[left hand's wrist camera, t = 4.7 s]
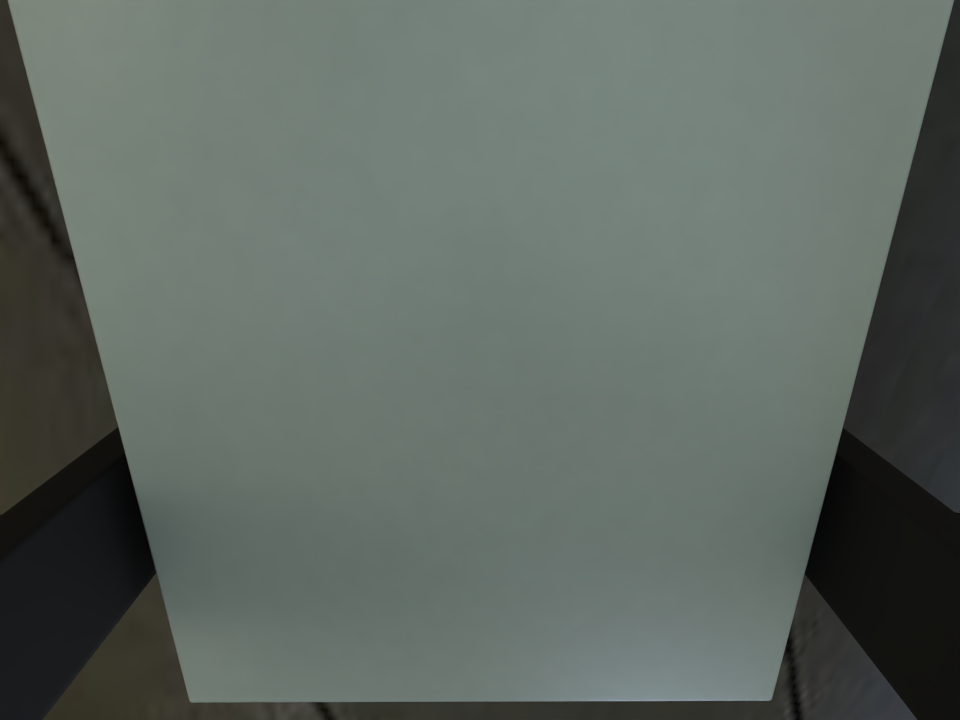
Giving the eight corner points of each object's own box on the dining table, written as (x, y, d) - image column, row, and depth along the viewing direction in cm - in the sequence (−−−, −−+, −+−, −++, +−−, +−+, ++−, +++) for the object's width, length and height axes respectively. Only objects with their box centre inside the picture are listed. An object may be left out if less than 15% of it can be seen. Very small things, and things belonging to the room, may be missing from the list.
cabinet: (266, -147, 15) (-213, -834, 4) (692, -146, 15) (1172, -826, 4) (329, 438, 21) (188, 703, 11) (629, 437, 21) (772, 701, 11)
